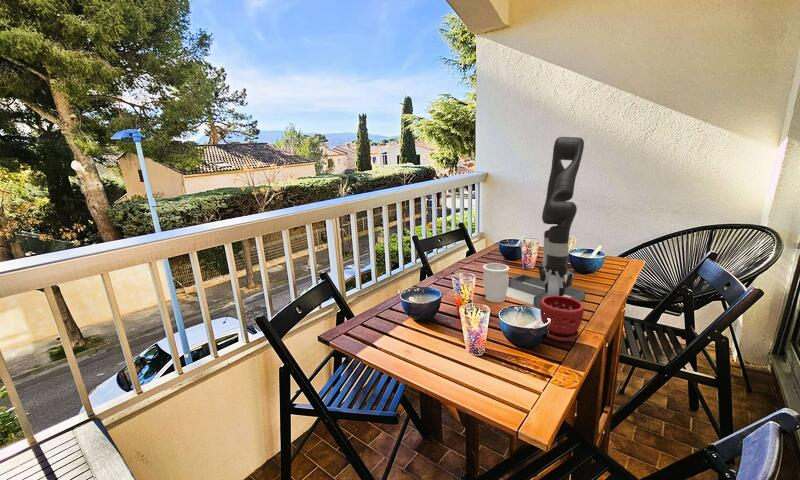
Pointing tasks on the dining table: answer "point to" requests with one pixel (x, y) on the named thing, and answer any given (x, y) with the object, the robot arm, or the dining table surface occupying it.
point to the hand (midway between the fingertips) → (554, 293)
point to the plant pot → (562, 317)
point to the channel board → (524, 294)
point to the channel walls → (539, 292)
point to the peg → (553, 286)
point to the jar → (495, 281)
